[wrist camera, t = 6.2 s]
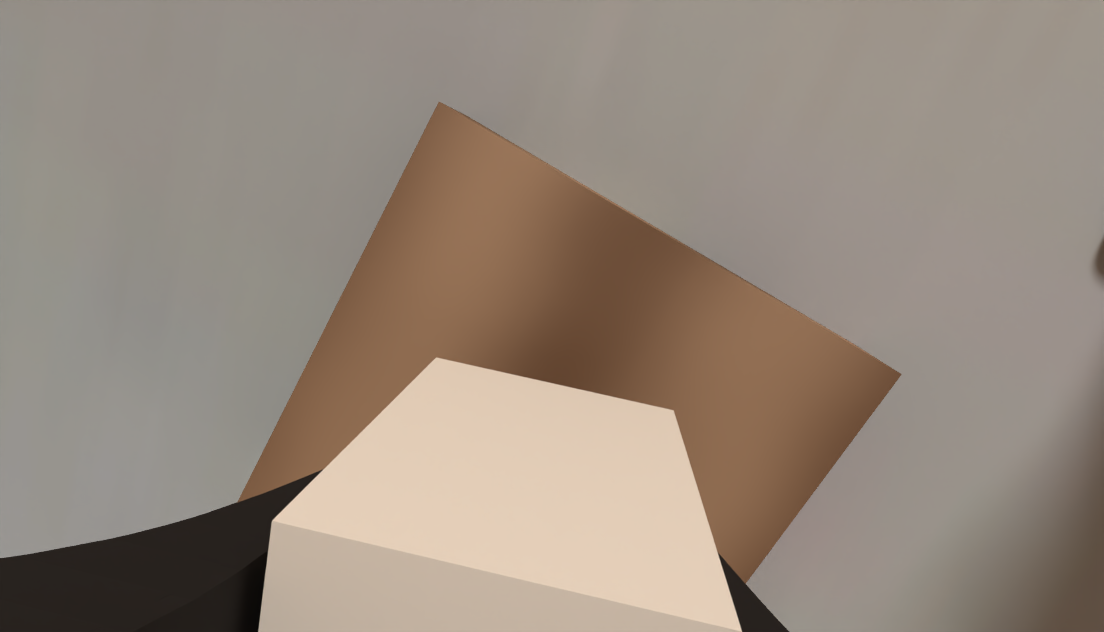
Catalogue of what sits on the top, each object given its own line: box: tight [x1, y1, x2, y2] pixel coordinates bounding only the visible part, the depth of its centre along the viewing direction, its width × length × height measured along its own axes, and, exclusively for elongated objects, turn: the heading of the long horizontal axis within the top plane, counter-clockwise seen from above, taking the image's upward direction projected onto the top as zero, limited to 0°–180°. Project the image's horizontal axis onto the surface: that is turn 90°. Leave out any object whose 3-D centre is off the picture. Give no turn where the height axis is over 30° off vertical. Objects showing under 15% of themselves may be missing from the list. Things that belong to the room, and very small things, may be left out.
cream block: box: [258, 357, 742, 632], centre depth 9 cm, size 4×4×6 cm
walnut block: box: [238, 102, 901, 584], centre depth 16 cm, size 11×11×3 cm
